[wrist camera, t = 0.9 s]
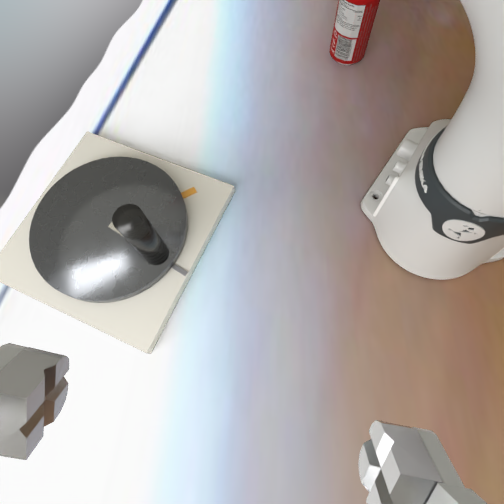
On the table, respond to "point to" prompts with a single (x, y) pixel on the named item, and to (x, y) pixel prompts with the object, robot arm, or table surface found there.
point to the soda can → (352, 30)
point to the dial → (108, 230)
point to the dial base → (151, 300)
